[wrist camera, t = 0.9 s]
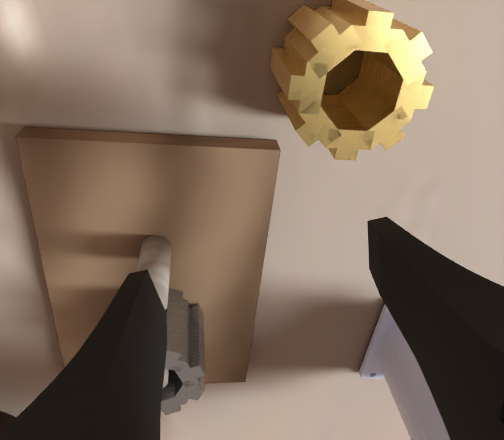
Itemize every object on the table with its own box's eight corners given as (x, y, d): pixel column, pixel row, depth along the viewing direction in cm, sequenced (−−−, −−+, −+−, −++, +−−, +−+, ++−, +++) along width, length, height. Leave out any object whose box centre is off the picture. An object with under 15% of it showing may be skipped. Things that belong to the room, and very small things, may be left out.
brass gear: (404, 1, 19) (456, 19, 15) (372, 123, 22) (408, 162, 18) (279, -12, 18) (302, 3, 14) (264, 116, 21) (278, 156, 17)
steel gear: (184, 275, 25) (182, 337, 21) (216, 336, 28) (219, 399, 24) (93, 303, 25) (75, 368, 21) (135, 360, 28) (126, 425, 24)
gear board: (276, 140, 22) (298, 195, 17) (243, 367, 32) (252, 440, 27) (24, 127, 20) (-25, 185, 16) (72, 372, 30) (50, 451, 25)
